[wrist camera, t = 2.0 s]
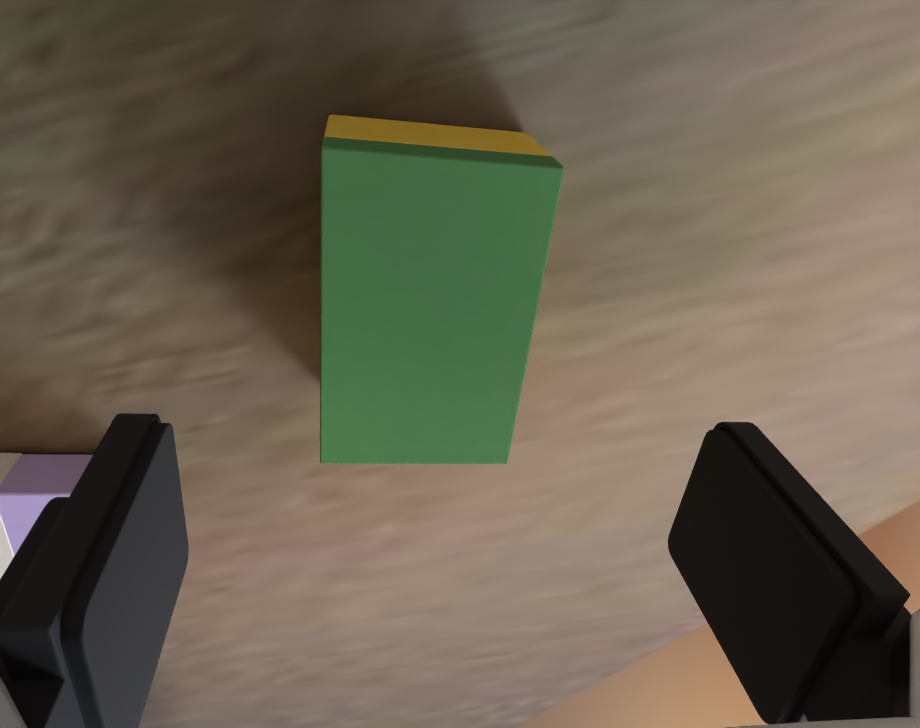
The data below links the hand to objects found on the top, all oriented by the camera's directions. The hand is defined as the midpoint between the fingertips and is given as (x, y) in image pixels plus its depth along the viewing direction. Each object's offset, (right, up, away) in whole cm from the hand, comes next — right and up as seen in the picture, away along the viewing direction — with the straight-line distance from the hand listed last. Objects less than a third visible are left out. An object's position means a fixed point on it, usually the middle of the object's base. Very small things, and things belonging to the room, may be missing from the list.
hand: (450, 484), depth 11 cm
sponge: (-1, +5, +7) cm, 8 cm away
